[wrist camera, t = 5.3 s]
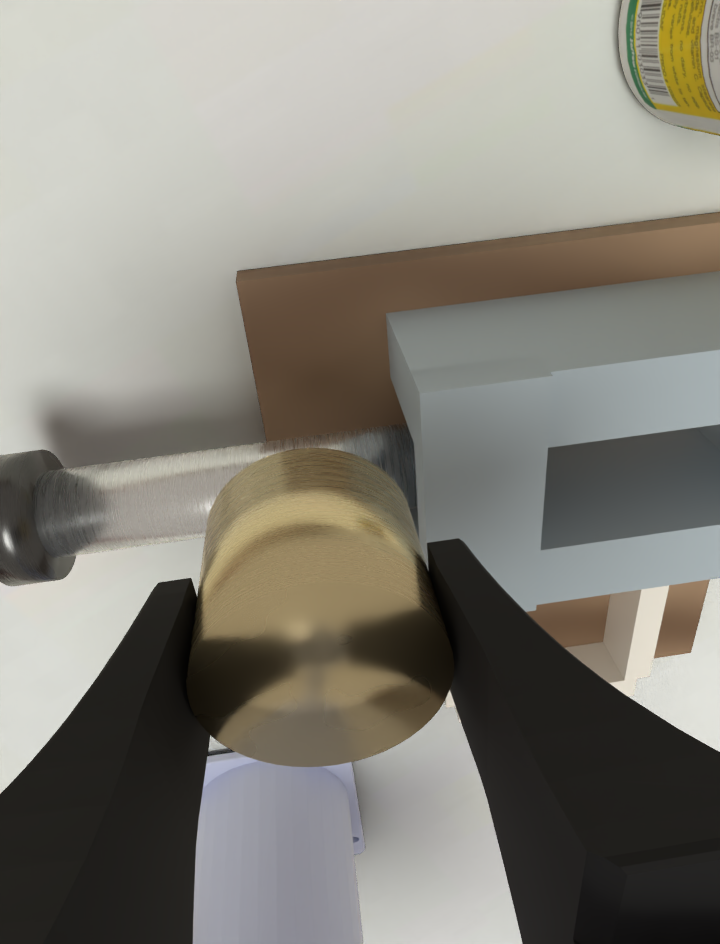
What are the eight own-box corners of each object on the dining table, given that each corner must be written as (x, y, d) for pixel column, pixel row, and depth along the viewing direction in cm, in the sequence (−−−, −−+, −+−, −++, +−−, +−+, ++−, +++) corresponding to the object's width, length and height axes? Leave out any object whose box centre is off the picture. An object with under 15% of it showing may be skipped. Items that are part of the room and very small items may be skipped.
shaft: (462, 474, 22) (493, 545, 19) (49, 531, 21) (11, 613, 18) (461, 372, 20) (495, 432, 17) (5, 431, 19) (-45, 505, 16)
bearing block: (711, 472, 24) (810, 569, 19) (400, 515, 23) (430, 626, 19) (759, 266, 20) (897, 330, 15) (386, 313, 19) (420, 393, 15)
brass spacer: (417, 596, 16) (457, 745, 12) (229, 625, 16) (218, 784, 12) (405, 433, 13) (450, 563, 10) (184, 464, 13) (154, 607, 10)
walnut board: (678, 635, 30) (690, 652, 29) (316, 690, 29) (318, 709, 28) (782, 204, 20) (804, 211, 19) (237, 271, 19) (235, 282, 18)
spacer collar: (623, 655, 28) (645, 693, 27) (436, 683, 28) (446, 724, 26) (651, 500, 24) (680, 535, 22) (429, 532, 24) (442, 569, 22)
